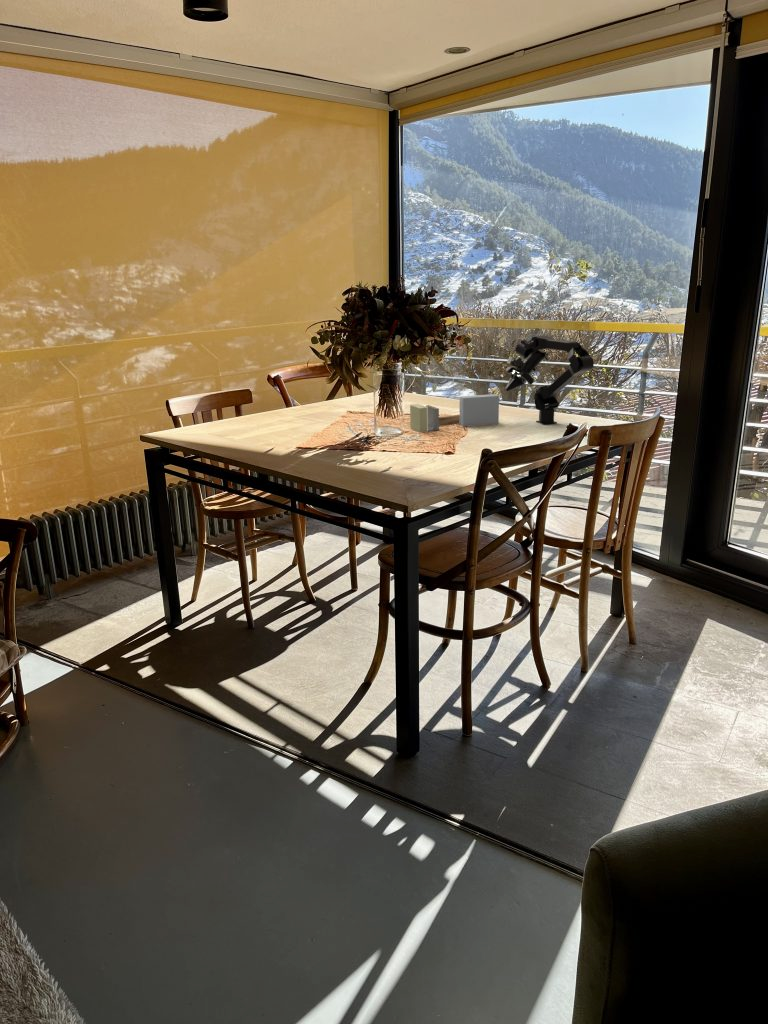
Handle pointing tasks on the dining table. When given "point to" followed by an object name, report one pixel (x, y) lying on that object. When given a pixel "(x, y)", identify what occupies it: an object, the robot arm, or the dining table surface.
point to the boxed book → (479, 410)
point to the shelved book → (419, 417)
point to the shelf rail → (449, 419)
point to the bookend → (433, 418)
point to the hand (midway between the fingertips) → (506, 390)
